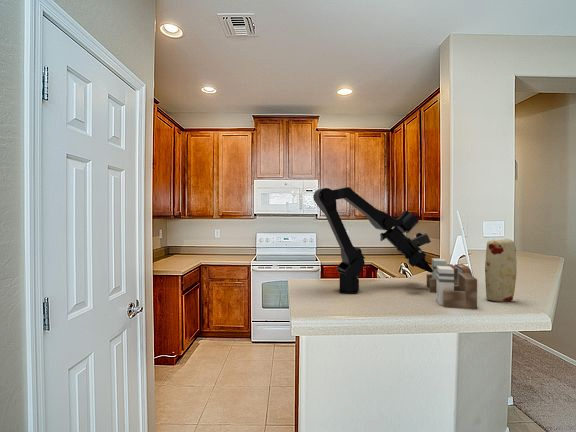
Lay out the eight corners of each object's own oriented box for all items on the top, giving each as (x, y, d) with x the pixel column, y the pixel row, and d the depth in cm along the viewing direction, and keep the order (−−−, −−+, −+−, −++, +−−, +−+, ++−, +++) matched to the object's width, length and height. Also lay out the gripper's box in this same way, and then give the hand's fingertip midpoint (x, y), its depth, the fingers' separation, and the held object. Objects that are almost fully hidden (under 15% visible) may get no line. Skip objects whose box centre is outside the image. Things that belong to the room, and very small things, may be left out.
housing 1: (430, 293, 116) (430, 267, 116) (426, 287, 126) (426, 263, 125) (457, 295, 114) (457, 268, 114) (452, 288, 123) (452, 264, 123)
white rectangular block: (439, 305, 101) (439, 269, 101) (436, 299, 107) (436, 265, 107) (454, 306, 100) (454, 269, 100) (450, 300, 106) (450, 266, 106)
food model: (494, 304, 102) (494, 239, 102) (478, 298, 109) (479, 238, 108) (522, 303, 103) (522, 239, 103) (505, 297, 110) (505, 237, 110)
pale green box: (433, 291, 118) (433, 260, 117) (431, 287, 123) (431, 258, 123) (446, 292, 116) (446, 261, 116) (443, 288, 122) (443, 258, 122)
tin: (474, 292, 117) (474, 268, 117) (464, 292, 118) (464, 268, 118) (460, 283, 132) (460, 262, 132) (452, 283, 133) (452, 262, 132)
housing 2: (444, 308, 99) (444, 278, 99) (438, 299, 108) (438, 272, 108) (477, 310, 97) (477, 279, 96) (468, 301, 106) (468, 273, 106)
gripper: (419, 227, 113) (454, 260, 110) (414, 224, 131) (444, 253, 128) (395, 249, 115) (429, 283, 112) (393, 244, 133) (422, 272, 130)
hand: (432, 271), depth 121 cm, fingers closed, pressing on pale green box
